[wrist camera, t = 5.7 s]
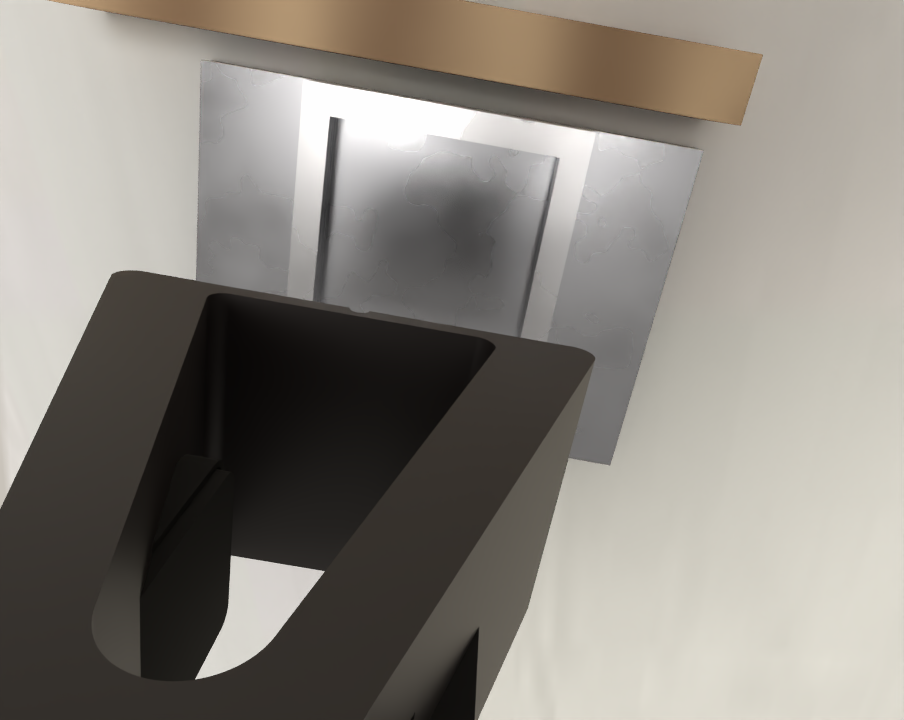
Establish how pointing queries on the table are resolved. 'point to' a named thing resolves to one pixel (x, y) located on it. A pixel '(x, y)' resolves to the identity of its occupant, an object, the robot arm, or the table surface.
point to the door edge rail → (487, 47)
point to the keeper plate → (443, 218)
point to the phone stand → (285, 500)
